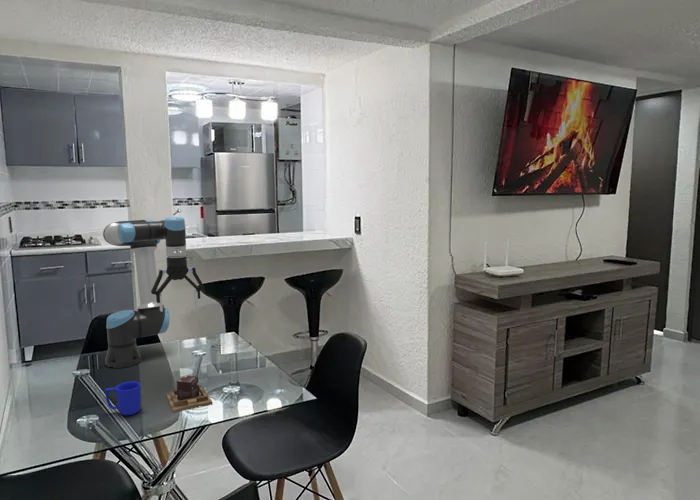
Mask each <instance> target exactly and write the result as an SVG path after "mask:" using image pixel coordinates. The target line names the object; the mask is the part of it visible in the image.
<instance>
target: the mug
mask: <svg viewBox="0 0 700 500" xmlns="http://www.w3.org/2000/svg"><path fill="white" fill-rule="evenodd" d="M141 385H142V384H141V383H140V382H138V381H135V380H134V381H125V382H122V383H120V384H118V385H116V386H115V387H108V388H105V389H104V393H105V394H104V395H105V398H106V404H107V405H108V407H109V408H110V409H112V410H117V409H118V412H119V413H120V414H121V415H122V416H132V415H135V414H137V413H138V412H139V411H140V409H141V392H142V391H141V387H142V386H141ZM109 391H113V392H115V395H116V402H117V406H114V405H112V403H111V401H110V400H111V399H110V397H109Z"/></svg>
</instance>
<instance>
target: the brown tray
mask: <svg viewBox="0 0 700 500" xmlns="http://www.w3.org/2000/svg"><path fill="white" fill-rule="evenodd" d="M165 395H166V399H167V401H168V403H169V405H170V408H171V411H172V413H176V412H182V411H185V410H190V409H191V408H192V409H196V408H195V407H197V408H200V407H199V406H202V407H206V406H211V405H213V401H212V399H211V397H210V395H209V394H208V392H207V390H206V389H205V387H204V386H203V385H199V395H198V396H197V397H196V398H190V399H185V400H178V399H177V389H175V390H173V389H172V390H169V392H168V393H165ZM210 404H211V405H210ZM205 405H206V406H205Z"/></svg>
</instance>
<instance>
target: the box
mask: <svg viewBox="0 0 700 500" xmlns="http://www.w3.org/2000/svg"><path fill="white" fill-rule="evenodd" d="M199 384H200V383H199V375H198V376H195V375H184V376H182V377H180V378H179V379H178V380H176V390H177V399H178V400H185V399H190V398H196V397H197V396H198V395H199V386H200V385H199Z"/></svg>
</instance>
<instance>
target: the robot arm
mask: <svg viewBox="0 0 700 500" xmlns="http://www.w3.org/2000/svg"><path fill="white" fill-rule="evenodd" d="M185 222H186V221H185V217H182V216H169V217H165V218H164V219H163V220H162V219H161V220H156V221H154V220H152V219H136V220H135V219H134V220H121V221H115V222H111V223H109V224H108V225H107V226H105V227H104V229H103V231H102V235H103V236H102V237H103V239H104V241H105V242H106V243H108V244H109V245H112V246H116V247H130V251H132V252H133V254H134V259H135V260H134V261H135V268H136V277H137V287H138V297H139V305H138V307H137V312H135V311H134V310H133V309H123V310H120V311H119V310H118V311H116V312H113V313H111V314H109V315H108V316H107V318H106V326H105V327H106V334H107V347H108V348H107V352H106V356H105V359H104V363H105V364H106V365H107V366H109V367H113V368H112V369H124V368H128V367H133V366H135V365H137V364H139V363H141V362H142V355H141V353H140V351H139V348H138V347H139V346H138V345H137V339H138V338H144V337H150V336H158V335H161V334H164V333H166V332H167V331H168V329H169V326H170V313H169V310H168V308H167V307H165V306H164V304H163V295H162V292H163V291H164V289H166V287H167V286H168V285H169V283H170V282H171V281H172V280H173V281H178V280H179V281H181V280H184V279H185V281H187V282H188V283H189V284H190V285H191V286H192V287H193V288H194V289H195V290H194V291H193V293H194V307H195V308H199V299H201V291H202V290H204V289H206V286H204V284H203V282H202V280H201V279H200V277H199V275H198V274H197V273H198V272H197V271H196V270H197V269H196V267H195V266H191V267H188V262H187V261H188V259H187V257H188V256H186V255H187V245H186V244H187V242H186V241H187V240H186V223H185ZM162 240H165V252H166V253H165V254H166V257H167V258H166V269H159V270H158V274H157V265H156V256H155V251H156V250H157V248H158V245H159V244H160V242H161V241H162ZM188 273H191V274H192V275H193V277H194V279H195V280H196V282H197V284H198V285H199V286H198V285H197V284H196V283H195V282H194V281H193V280H192V279H190V277H189V276H188ZM165 274H167V277H166V278H165V280H164V281H163V282H162V284H161V285H160V282H161V281H162V279H163V276H164V275H165ZM109 367H108V368H109Z"/></svg>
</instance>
